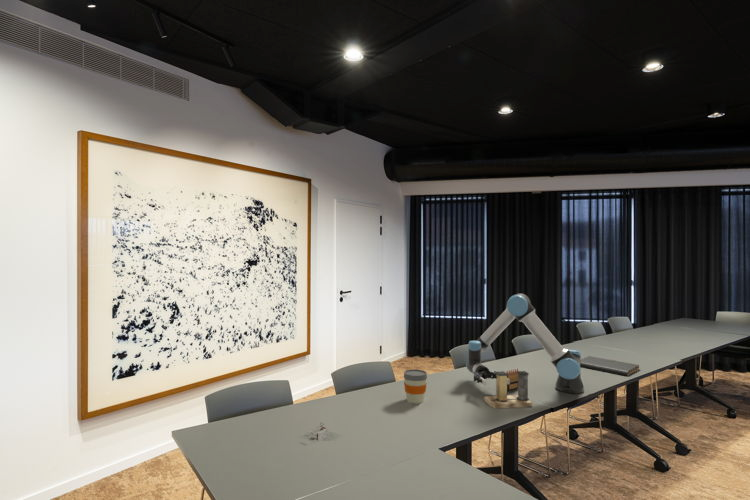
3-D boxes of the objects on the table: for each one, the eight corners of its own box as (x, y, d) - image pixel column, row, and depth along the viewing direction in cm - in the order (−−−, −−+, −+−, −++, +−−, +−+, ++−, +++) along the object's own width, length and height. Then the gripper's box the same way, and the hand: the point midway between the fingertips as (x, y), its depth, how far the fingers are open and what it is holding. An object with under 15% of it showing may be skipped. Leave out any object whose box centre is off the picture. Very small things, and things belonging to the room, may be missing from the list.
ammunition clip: (507, 392, 239) (507, 371, 239) (504, 391, 241) (504, 370, 241) (519, 389, 245) (519, 368, 245) (517, 388, 247) (517, 367, 247)
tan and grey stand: (522, 398, 229) (522, 368, 229) (534, 406, 217) (534, 375, 217) (484, 400, 226) (484, 370, 226) (493, 408, 214) (493, 376, 214)
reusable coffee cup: (426, 405, 218) (426, 376, 218) (402, 403, 221) (402, 375, 221) (427, 397, 230) (427, 370, 231) (405, 395, 233) (405, 368, 233)
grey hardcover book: (639, 364, 287) (627, 371, 271) (639, 370, 287) (627, 377, 271) (589, 355, 312) (575, 361, 296) (589, 361, 312) (575, 367, 296)
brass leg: (503, 397, 224) (503, 371, 224) (507, 400, 219) (507, 373, 219) (495, 398, 223) (495, 371, 223) (499, 401, 218) (499, 374, 218)
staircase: (320, 435, 183) (320, 422, 183) (326, 437, 181) (326, 424, 181) (309, 440, 178) (309, 427, 178) (315, 442, 176) (315, 429, 176)
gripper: (500, 376, 249) (518, 388, 228) (460, 378, 245) (475, 390, 224) (501, 364, 249) (518, 374, 228) (461, 365, 245) (475, 376, 224)
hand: (497, 382), depth 226 cm, fingers open, 13 cm apart
